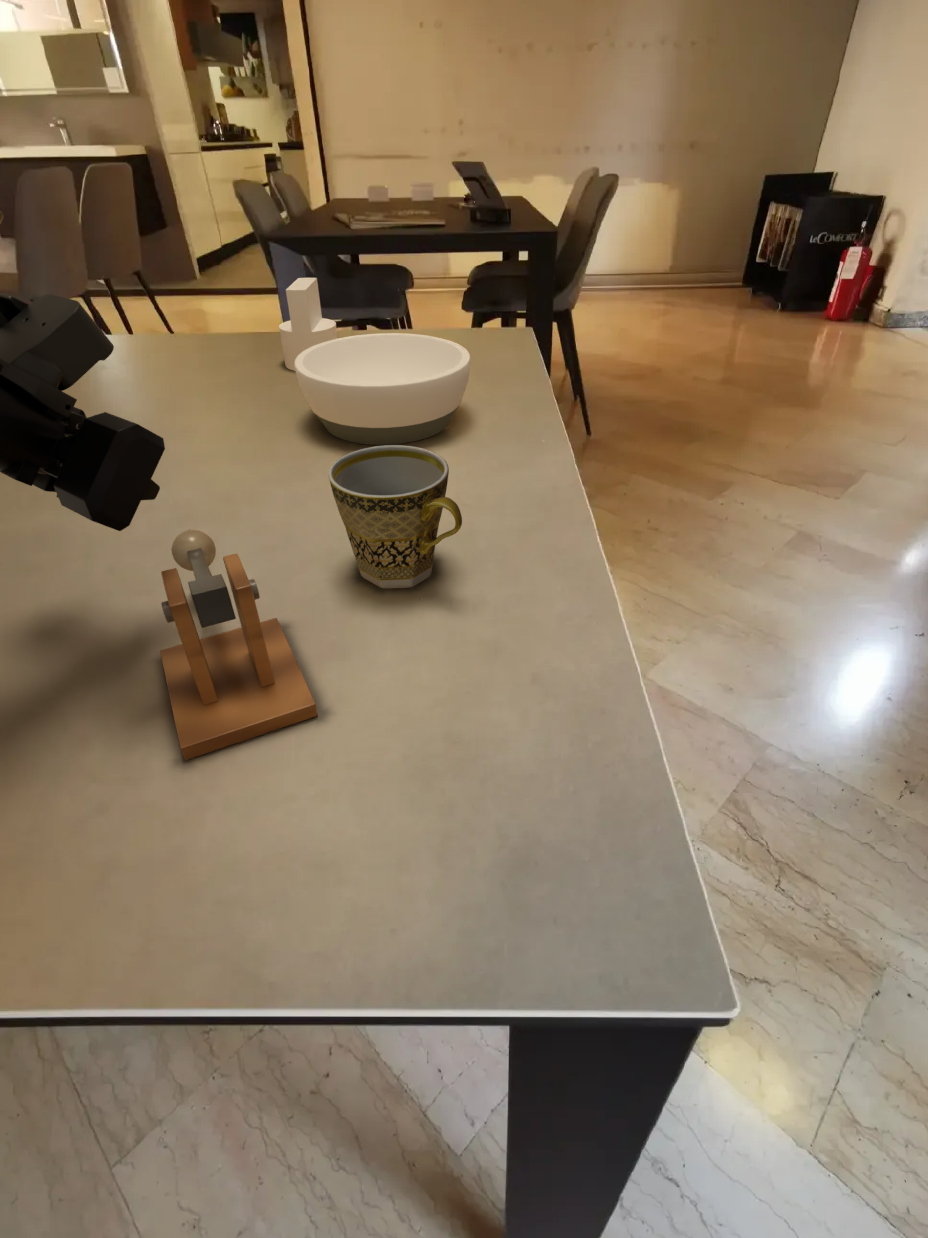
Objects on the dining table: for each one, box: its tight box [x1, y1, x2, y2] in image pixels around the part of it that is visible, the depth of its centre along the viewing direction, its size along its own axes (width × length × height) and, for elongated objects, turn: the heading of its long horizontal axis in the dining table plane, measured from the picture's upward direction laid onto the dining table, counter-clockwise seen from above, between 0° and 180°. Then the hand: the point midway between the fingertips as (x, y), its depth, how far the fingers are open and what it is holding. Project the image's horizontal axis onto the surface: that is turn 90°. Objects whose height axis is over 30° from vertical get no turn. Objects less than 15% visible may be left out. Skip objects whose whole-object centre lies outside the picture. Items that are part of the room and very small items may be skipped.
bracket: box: [159, 553, 319, 761], centre depth 46 cm, size 11×9×10 cm
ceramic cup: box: [328, 444, 463, 589], centre depth 58 cm, size 13×10×10 cm
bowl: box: [294, 332, 471, 446], centre depth 88 cm, size 22×22×8 cm
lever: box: [171, 529, 237, 629], centre depth 50 cm, size 16×3×3 cm, turn 26°
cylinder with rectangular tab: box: [278, 277, 339, 372], centre depth 107 cm, size 9×9×12 cm
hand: (155, 492), depth 51 cm, fingers closed
